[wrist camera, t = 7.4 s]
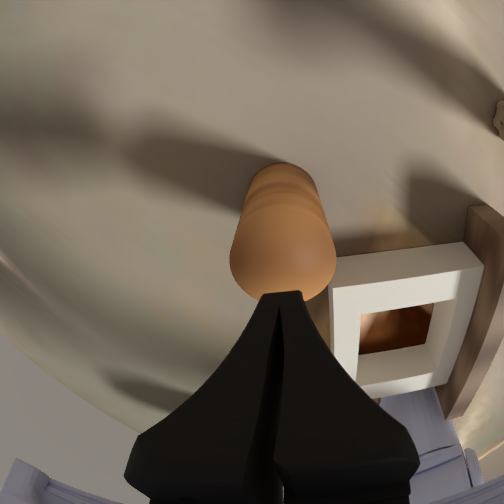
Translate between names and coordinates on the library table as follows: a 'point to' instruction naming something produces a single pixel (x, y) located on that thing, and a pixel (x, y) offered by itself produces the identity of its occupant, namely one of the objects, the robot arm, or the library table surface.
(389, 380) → the socket block
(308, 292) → the dowel
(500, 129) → the handle
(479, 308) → the wall
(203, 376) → the library table surface
